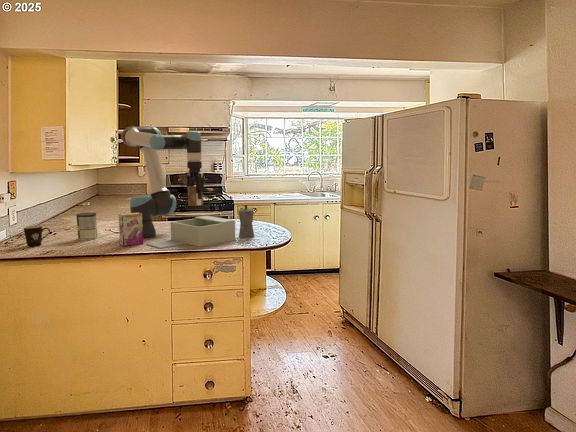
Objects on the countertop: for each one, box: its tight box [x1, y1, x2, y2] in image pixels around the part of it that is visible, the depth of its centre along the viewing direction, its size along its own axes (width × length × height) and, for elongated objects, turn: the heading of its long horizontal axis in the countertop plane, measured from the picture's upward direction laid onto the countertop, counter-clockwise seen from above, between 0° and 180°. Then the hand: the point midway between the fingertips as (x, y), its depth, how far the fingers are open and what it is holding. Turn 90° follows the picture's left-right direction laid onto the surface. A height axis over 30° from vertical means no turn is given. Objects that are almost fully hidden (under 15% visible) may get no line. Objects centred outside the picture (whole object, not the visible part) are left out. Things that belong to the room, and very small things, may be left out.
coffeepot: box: [237, 204, 255, 239], centre depth 272 cm, size 15×9×18 cm, turn 26°
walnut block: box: [187, 185, 204, 207], centre depth 257 cm, size 5×6×10 cm
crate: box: [170, 215, 236, 248], centre depth 263 cm, size 26×24×11 cm
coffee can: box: [76, 212, 99, 241], centre depth 267 cm, size 10×10×14 cm
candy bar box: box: [118, 212, 144, 247], centre depth 251 cm, size 11×5×16 cm, turn 131°
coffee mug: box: [22, 225, 51, 247], centre depth 250 cm, size 12×9×10 cm
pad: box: [146, 239, 186, 250], centre depth 251 cm, size 14×14×1 cm
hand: (195, 204), depth 258 cm, fingers closed on walnut block, 5 cm apart
